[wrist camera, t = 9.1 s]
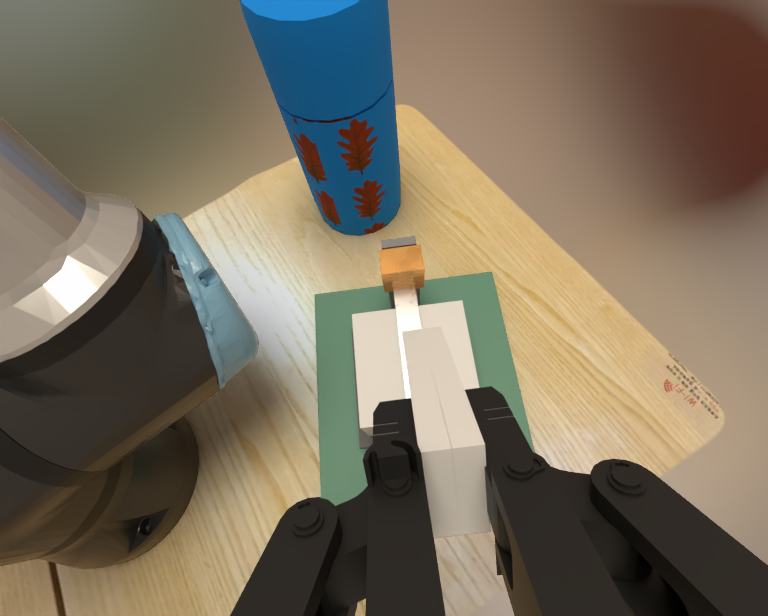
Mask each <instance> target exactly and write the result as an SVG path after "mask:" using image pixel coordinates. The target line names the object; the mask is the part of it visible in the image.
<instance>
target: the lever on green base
mask: <svg viewBox="0 0 768 616" xmlns="http://www.w3.org/2000/svg"><path fill="white" fill-rule="evenodd" d="M381 242H382V250H383V249H391V248H398V247H406V246H413V245H416V239H415V236H412V237H404V238H397V239H389V240H382V241H381ZM416 295H417V302H418V308H419V315H420V322H421V329H423V328H431V327H438V326H441V328H442V330H443V333H444V336H445V339H446V341H447V344H448V347H449V349H450V352H451V355H452V357H453V360H454V363H455V365H456V368H457V371H458V373H459V376H460V379H461V381H462V384H463V387H464V389H465V390H466V389H474V388H481V387H489V386H492V387H493V388H495V389H496V390H497V391H499V392H500V393H501V394H503V396H504V398H505V400H506V401H507V403H508V405H509V408H510V409H511V411H512V413H513V416H514V417H515V419H516V421H517V422H518V424H519V426H520V428H521V430H522V432H523V434H524V436H525V438H526V440H527V442H528V443H529V445H530V447H531V449H532V451H533V452H534V453H535V451H534V447H533V443H532V439H531V435H530V430H529V426H528V422H527V418H526V414H525V409H524V405H523V401H522V397H521V392H520V388H519V384H518V380H517V376H516V371H515V367H514V363H513V359H512V354H511V350H510V346H509V342H508V338H507V333H506V329H505V325H504V321H503V317H502V312H501V308H500V304H499V300H498V295H497V291H496V287H495V283H494V279H493V274H492V272H486V273H479V274H471V275H463V276H455V277H448V278H440V279H432V280H424V288H419V289H416ZM315 321H316V353H317V385H318V417H319V448H320V480H321V498H324V499H327V500H329V501H330V502H332V503H333V504H334V505H335V506H336V505H339V504H341V503H344V502H346V501H348V500H350V499H352V498H354V497H356V496H357V495H359V494H360V493H361V492H362V491H364V489H365V488H366V487H367V486H368V484H367V479H366V474H365V470H364V465H363V457H364V454H365V451H366V450H367V449H368V448H369V447H370V446H371V445H372V444H373V412H374V411H375V409H376V407H377V406H378V404H379V402H383V401H391V400H399V399H406V391H405V382H404V374H403V366H402V358H401V349H400V341H399V333H398V324H397V316H396V308H395V300H394V292H388V293H385V291H384V286H378V287H370V288H362V289H354V290H346V291H339V292H331V293H323V294H315Z"/></svg>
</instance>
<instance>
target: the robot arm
mask: <svg viewBox="0 0 768 616" xmlns="http://www.w3.org/2000/svg"><path fill="white" fill-rule="evenodd" d="M402 338H403V345H404V352H405V359H406V367H407V374H408V381H409V388H410V395H411V398H406V399H399V400H391V401H383V402H379V404H378V406H377V407H376V409H375V411H374V412H373V444H372V445H371V446H370V447H369V448H368V449H367V450H366V451H365V454H364V457H363V465H364V470H365V474H366V479H367V484H368V486H367V487H366V488H365V489H364V491H362V492H361V493H360V494H359V495H357V496H356V497H354V498H352V499H350V500H348V501H346V502H344V503H341V504H339V505H336V506H335V505H334V504H333V503H332V502H330V501H329V500H327V499H324V498H320V497H315V498H307V499H305V500H302V501H300V502H297V503H296V504H295V505H293V506H292V507H291V508H289V509H288V510H287V511H286V512H285V514H284V515H283V516H282V518H281V519H280V521H279V523H278V525H277V527H276V529H275V531H274V533H273V534H272V536H271V538H270V540H269V542H268V544H267V546H266V548H265V550H264V552H263V554H262V556H261V558H260V559H259V561H258V563H257V565H256V567H255V569H254V571H253V573H252V575H251V577H250V579H249V581H248V582H247V584H246V586H245V588H244V590H243V592H242V594H241V596H240V598H239V600H238V602H237V604H236V606H235V607H234V609H233V611H232V613H231V615H230V616H355V612H356V608H357V602H359V601H361V600H363V599H365V598H366V616H445V609H444V603H443V596H442V590H441V583H440V577H439V570H438V563H437V557H436V550H435V544H434V538H441V537H449V536H458V535H466V534H474V533H483V532H490V522H491V525H492V528H493V532H494V535H495V547H496V565H497V575H503V578H504V581H505V585H506V588H507V592H508V595H509V598H510V601H511V605H512V608H513V612H514V615H515V616H768V565H766V564H765V563H764V562H762V561H761V560H760V559H759V558H758V557H757V556H755V555H754V554H753V553H752V552H750V551H749V550H748V549H747V548H745V547H744V546H743V545H742V544H740V543H739V542H738V541H737V540H735V539H734V538H733V537H732V536H730V535H729V534H728V533H727V532H725V531H724V530H723V529H722V528H721V527H719V526H718V525H717V524H715V523H714V522H713V521H712V520H710V519H709V518H708V517H707V516H706V515H704V514H703V513H702V512H700V511H699V510H698V509H697V508H696V507H694V506H693V505H692V504H691V503H690V502H688V501H687V500H686V499H685V498H683V497H682V496H681V495H680V494H678V493H677V492H676V491H675V490H673V489H672V488H671V487H670V486H668V485H667V484H666V483H665V482H663V481H662V480H661V479H660V478H658V477H657V476H656V475H655V474H654V473H652V472H651V471H649V470H647V469H646V468H644V467H643V466H641V465H639V464H636V463H633V462H630V461H627V460H619V459H610V460H603V461H601V462H599V463H598V464H596V465H594V467H593V469H592V471H591V475H590V474H582V473H574V472H568V471H563V470H559V469H556V468H553V467H551V466H550V465H549V464H548V463H547V462H546V461H545V459H544V458H543V457H541V456H539V455H538V454H536V453H534V452H533V451H532V449H531V447H530V445H529V443H528V442H527V440H526V438H525V436H524V434H523V432H522V430H521V428H520V426H519V424H518V422H517V421H516V419H515V417H514V416H513V413H512V411H511V409H510V408H509V405H508V403H507V401H506V400H505V398H504V396H503V394H501V393H500V392H499V391H497V390H496V389H495V388H493V387H492V386H489V387H481V388H474V389H466V390H465V389H464V387H463V384H462V381H461V379H460V376H459V373H458V371H457V368H456V365H455V363H454V360H453V357H452V355H451V352H450V349H449V347H448V344H447V341H446V339H445V336H444V333H443V330H442V328H441V326H438V327H431V328H423V329H416V330H409V331H402ZM258 344H259V342H258V337H257V334H256V332H255V331H254V329H253V327H252V326H251V324H250V323H249V321H248V320H247V318H246V316H245V315H244V313H243V312H242V310H241V309H240V307H239V306H238V304H237V302H236V301H235V299H234V298H233V296H232V295H231V293H230V292H229V290H228V288H227V287H226V285H225V284H224V282H223V281H222V279H221V278H220V276H219V275H218V273H217V272H216V270H215V269H214V267H213V266H212V264H211V262H210V261H209V259H208V258H207V256H206V255H205V253H204V252H203V250H202V249H201V247H200V245H199V244H198V242H197V241H196V239H195V238H194V236H193V235H192V233H191V232H190V230H189V229H188V228H187V226H186V225H185V223H184V221H183V220H182V218H181V217H180V216H179V215H178V214H176V213H168V214H165V215H156V216H155V217H154V220H153V221H152V222H151V221H150V220H149V219H148V218H147V217H146V216H145V215H144V214H143V213H142V212H141V211H140V210H139V209H138V208H137V207H136V206H135V205H134V204H133V203H132V202H130V201H129V200H128V199H126V198H124V197H121V196H117V195H109V194H96V193H86V192H83V191H80V190H79V189H77V188H76V187H75V186H74V185H73V184H72V183H71V182H70V181H68V179H66V178H65V177H64V176H63V175H62V174H61V173H60V172H59V171H58V170H57V169H56V168H55V167H53V165H51V164H50V163H49V162H48V161H47V160H46V159H45V158H44V157H43V156H42V155H41V154H40V153H39V152H38V151H37V150H36V149H34V148H33V147H32V146H31V145H30V144H29V143H28V142H27V141H26V140H25V139H24V138H23V137H22V136H21V135H20V134H18V133H17V132H16V131H15V130H14V129H13V128H12V127H11V126H10V125H9V124H8V123H7V122H6V121H5V120H4V119H2V118H1V117H0V566H4V565H9V564H14V563H19V562H23V561H27V560H32V559H37V558H38V559H42V560H46V561H50V562H54V563H58V564H62V565H66V566H70V567H74V568H81V569H92V568H102V567H106V566H110V565H114V564H118V563H121V562H125V561H128V560H131V559H133V558H135V557H137V556H139V555H141V554H143V553H145V552H146V551H148V550H149V549H151V548H152V547H153V546H155V545H156V544H157V543H158V542H160V541H161V540H162V539H163V538H164V537H165V536H166V535H167V534H168V533H169V532H170V530H171V529H172V528H173V527H174V526H175V524H176V523H177V522H178V520H179V519H180V517H181V515H182V514H183V512H184V510H185V508H186V507H187V505H188V502H189V500H190V498H191V495H192V493H193V489H194V486H195V482H196V477H197V471H198V450H197V444H196V440H195V437H194V434H193V432H192V429H191V428H190V426H189V424H188V423H187V421H186V420H185V418H184V417H183V416H184V415H185V414H186V413H188V412H189V411H191V410H192V409H193V408H195V407H196V406H197V405H199V404H200V403H202V402H203V401H204V400H206V399H207V398H209V397H210V396H211V395H213V394H214V393H215V392H217V391H218V390H221V389H222V388H224V387H225V385H226V383H227V382H228V381H229V380H230V379H231V378H232V377H234V376H235V375H236V374H237V373H238V372H240V371H241V370H242V369H243V368H244V367H246V366H247V365H248V364H249V363H250V362H251V361H252V360H253V359H254V357H255V355H256V353H257V351H258Z"/></svg>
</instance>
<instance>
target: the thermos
mask: <svg viewBox="0 0 768 616" xmlns="http://www.w3.org/2000/svg"><path fill="white" fill-rule="evenodd" d="M240 3H241V7H242V11H243V15H244V18H245V20H246V23H247V26H248V28H249V31H250V34H251V36H252V39H253V41H254V44H255V47H256V49H257V52H258V54H259V57H260V60H261V62H262V65H263V67H264V70H265V73H266V75H267V78H268V80H269V83H270V85H271V88H272V91H273V93H274V96H275V99H276V101H277V104H278V106H279V109H280V111H281V114H282V117H283V119H284V121H285V124H286V127H287V130H288V132H289V135H290V137H291V140H292V143H293V145H294V148H295V150H296V153H297V156H298V158H299V161H300V163H301V166H302V169H303V171H304V174H305V176H306V179H307V182H308V184H309V187H310V189H311V192H312V195H313V197H314V200H315V202H316V204H317V206H318V208H319V210H320V212H321V215H322V217H323V219H324V221H325V222H326V223H328V224H329V225H330V226H331V227H332V228H333V229H334V230H337V231H339V232H341V233H344V234H349V235H364V234H369V233H373V232H376V231H377V230H379V229H381V228H383V227H385V226H386V225H387V224H388V223H389V222H390V221H391V220H392V219H393V218H394V217H395V216H396V214H397V211H398V208H399V206H400V165H399V151H398V137H397V124H396V110H395V96H394V83H393V69H392V55H391V41H390V27H389V13H388V0H240Z"/></svg>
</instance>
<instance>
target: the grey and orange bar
mask: <svg viewBox="0 0 768 616" xmlns="http://www.w3.org/2000/svg"><path fill="white" fill-rule="evenodd" d="M379 258H380V267H381V276H382V281H383V286H384V291H385V293H388V292H394V300H395V308H396V316H397V324H398V333H399V341H400V349H401V358H402V366H403V374H404V382H405V391H406V398H411V395H410V388H409V381H408V374H407V367H406V359H405V352H404V345H403V338H402V331H409V330H416V329H421V322H420V315H419V308H418V302H417V295H416V289H419V288H424V264H423V257H422V251H421V245H413V246H406V247H398V248H391V249H383V250H379Z"/></svg>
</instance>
